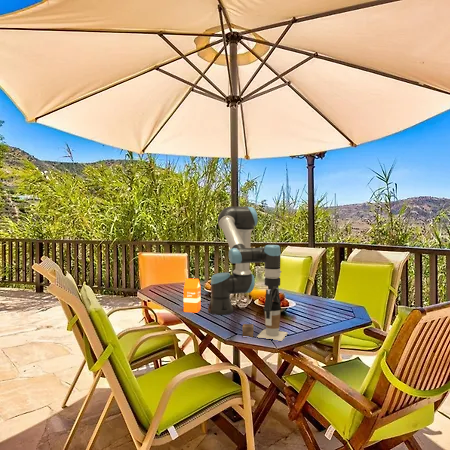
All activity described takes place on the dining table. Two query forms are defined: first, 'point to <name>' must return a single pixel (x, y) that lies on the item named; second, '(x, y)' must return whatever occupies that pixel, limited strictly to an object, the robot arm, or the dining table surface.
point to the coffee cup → (274, 320)
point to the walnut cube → (248, 330)
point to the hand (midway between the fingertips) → (272, 321)
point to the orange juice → (192, 295)
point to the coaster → (279, 337)
